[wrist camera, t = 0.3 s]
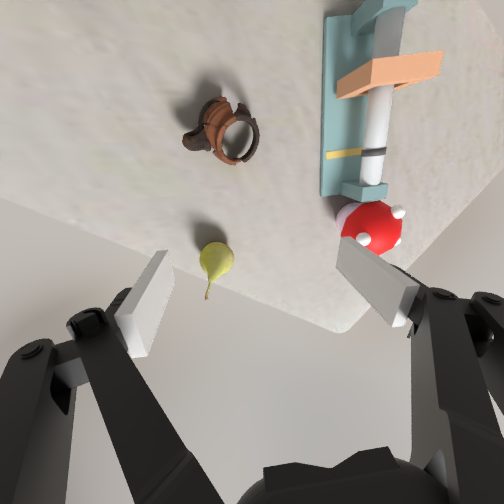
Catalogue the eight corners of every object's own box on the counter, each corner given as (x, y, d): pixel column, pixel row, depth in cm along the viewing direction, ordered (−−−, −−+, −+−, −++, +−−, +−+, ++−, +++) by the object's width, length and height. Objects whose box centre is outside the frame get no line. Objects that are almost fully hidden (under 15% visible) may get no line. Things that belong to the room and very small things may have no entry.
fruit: (237, 243, 45) (241, 272, 35) (224, 271, 48) (224, 306, 37) (207, 232, 44) (202, 259, 33) (196, 262, 46) (187, 296, 36)
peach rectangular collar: (337, 81, 33) (373, 58, 25) (391, 74, 34) (444, 50, 26) (336, 99, 34) (370, 83, 26) (389, 92, 35) (438, 75, 27)
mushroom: (382, 196, 45) (431, 211, 34) (363, 243, 49) (402, 269, 38) (335, 190, 43) (372, 204, 32) (321, 240, 47) (349, 266, 37)
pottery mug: (235, 84, 34) (260, 96, 29) (245, 142, 41) (267, 160, 37) (165, 109, 32) (180, 127, 27) (189, 166, 39) (204, 188, 35)
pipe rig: (324, 20, 31) (354, -19, 24) (400, 12, 32) (453, -29, 25) (320, 196, 43) (339, 205, 36) (376, 187, 44) (407, 195, 36)
